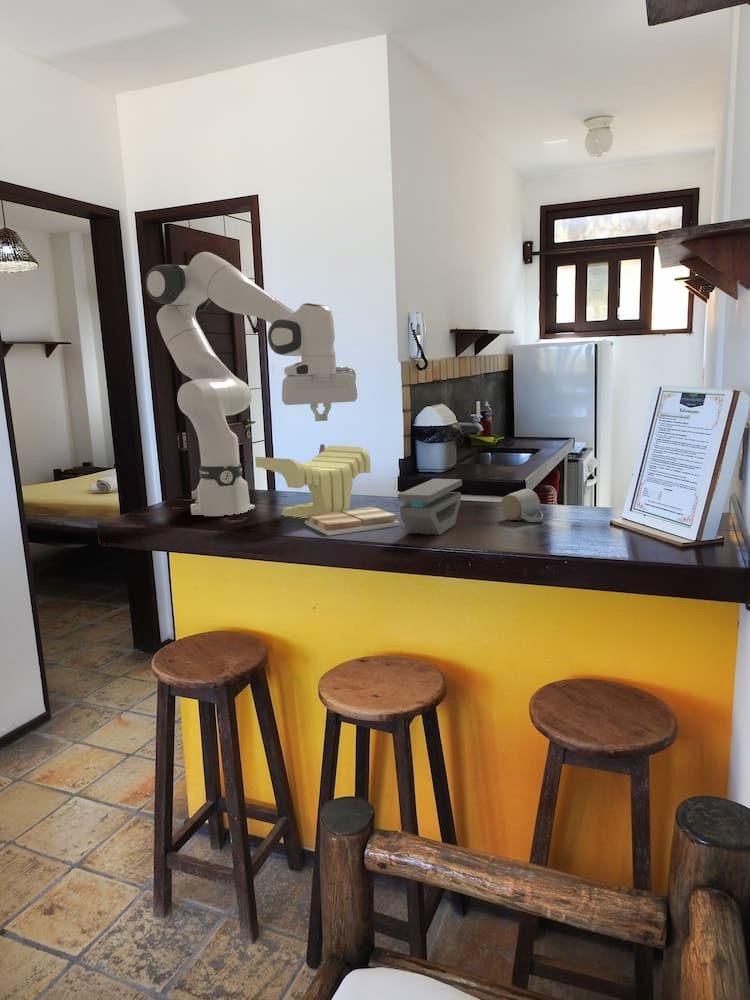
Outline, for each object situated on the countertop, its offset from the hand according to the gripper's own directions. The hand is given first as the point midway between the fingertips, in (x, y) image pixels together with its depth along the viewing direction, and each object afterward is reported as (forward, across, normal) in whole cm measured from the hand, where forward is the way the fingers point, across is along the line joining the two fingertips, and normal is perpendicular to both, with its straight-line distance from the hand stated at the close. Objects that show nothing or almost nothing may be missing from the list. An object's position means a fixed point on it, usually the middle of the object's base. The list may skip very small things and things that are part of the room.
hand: (321, 421), depth 187 cm
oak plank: (+27, +1, +8) cm, 28 cm away
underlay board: (+27, -4, +8) cm, 29 cm away
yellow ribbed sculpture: (+27, -2, -11) cm, 29 cm away
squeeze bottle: (+27, -11, -27) cm, 40 cm away
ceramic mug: (+27, -44, +28) cm, 59 cm away
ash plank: (+26, -9, +8) cm, 29 cm away
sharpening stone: (+27, -19, +24) cm, 41 cm away
